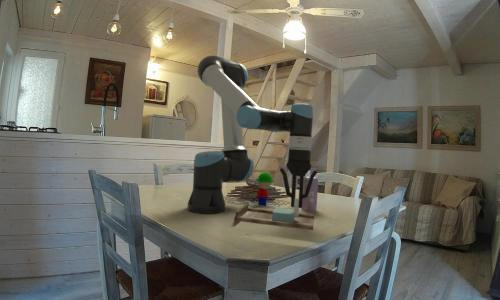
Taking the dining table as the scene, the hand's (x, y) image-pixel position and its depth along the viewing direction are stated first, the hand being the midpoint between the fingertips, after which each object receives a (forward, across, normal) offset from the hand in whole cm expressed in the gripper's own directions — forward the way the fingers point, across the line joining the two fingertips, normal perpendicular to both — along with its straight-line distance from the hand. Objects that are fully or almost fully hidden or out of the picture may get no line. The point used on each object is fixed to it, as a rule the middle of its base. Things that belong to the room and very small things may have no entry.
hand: (295, 216), depth 102 cm
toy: (+3, -16, +26) cm, 31 cm away
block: (+1, -4, 0) cm, 4 cm away
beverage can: (+3, +4, +21) cm, 22 cm away
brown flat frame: (+3, -7, 0) cm, 7 cm away
